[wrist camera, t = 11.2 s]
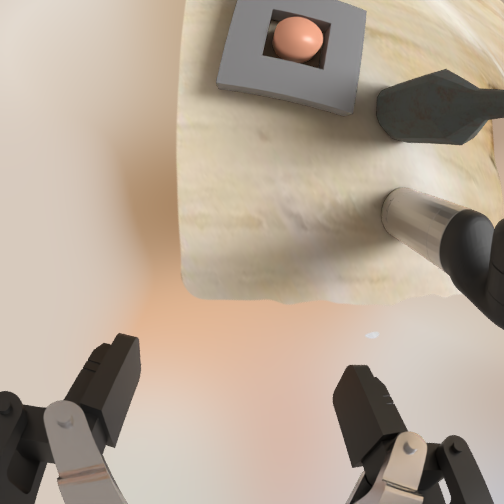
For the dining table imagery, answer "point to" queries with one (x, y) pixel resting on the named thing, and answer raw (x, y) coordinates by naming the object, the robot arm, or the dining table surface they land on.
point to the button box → (291, 73)
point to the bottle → (437, 109)
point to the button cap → (297, 39)
